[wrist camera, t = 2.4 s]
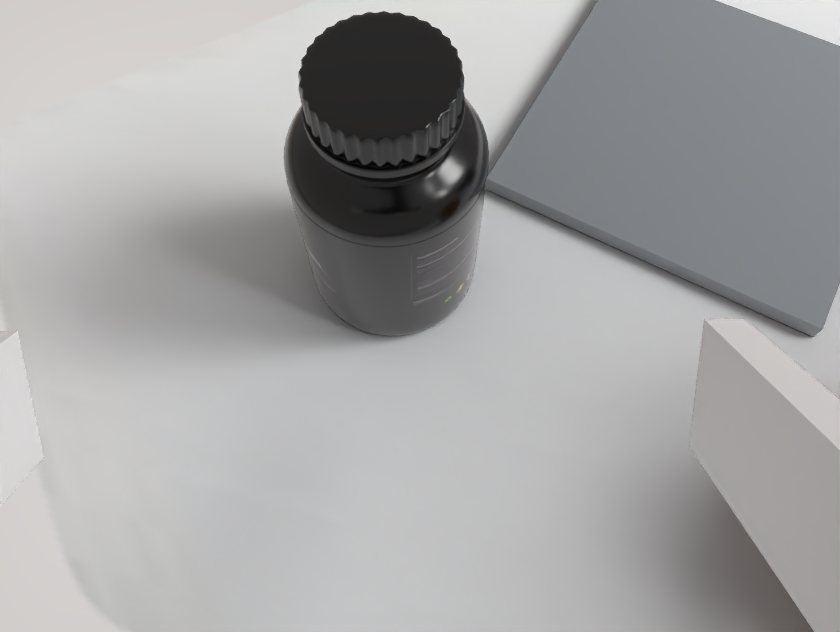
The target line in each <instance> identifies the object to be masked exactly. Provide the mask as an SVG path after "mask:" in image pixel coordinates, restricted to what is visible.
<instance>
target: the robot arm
mask: <svg viewBox="0 0 840 632" xmlns="http://www.w3.org/2000/svg"><path fill="white" fill-rule="evenodd" d="M689 447H690V448H691V450H692V451H693V453H694V454H695V456H696V457H697V459H698V460H699V462H700V463H701V465H702V466H703V468H704V469H705V471H706V472H707V474H708V475H709V477H710V478H711V480H712V481H713V483H714V484H715V485H716V487H717V488H718V490H719V491H720V493H721V494H722V496H723V497H724V499H725V500H726V502H727V503H728V505H729V506H730V508H731V509H732V511H733V512H734V514H735V515H736V517H737V518H738V520H739V521H740V523H741V524H742V525H743V527H744V528H745V530H746V531H747V533H748V534H749V536H750V537H751V539H752V540H753V542H754V543H755V545H756V546H757V548H758V549H759V551H760V552H761V554H762V555H763V557H764V558H765V560H766V561H767V563H768V564H769V565H770V567H771V568H772V570H773V571H774V573H775V574H776V576H777V577H778V579H779V580H780V582H781V583H782V585H783V586H784V588H785V589H786V591H787V592H788V594H789V595H790V597H791V598H792V600H793V601H794V603H795V604H796V606H797V607H798V608H799V610H800V611H801V613H802V614H803V616H804V617H805V619H806V620H807V622H808V623H809V625H810V626H811V628H812V629H813V631H814V632H840V399H839V398H838V397H836V396H835V395H834V394H833V393H832V392H830V391H829V390H828V389H827V388H826V387H825V386H823V385H822V384H821V383H820V382H819V381H817V380H816V379H815V378H814V377H813V376H812V375H810V374H809V373H808V372H807V371H806V370H804V369H803V368H802V367H801V366H800V365H799V364H797V363H796V362H795V361H794V360H793V359H791V358H790V357H789V356H788V355H787V354H786V353H784V352H783V351H782V350H781V349H780V348H778V347H777V346H776V345H775V344H774V343H773V342H771V341H770V340H769V339H768V338H767V337H765V336H764V335H763V334H762V333H761V332H760V331H758V330H757V329H756V328H755V327H754V326H752V325H751V324H750V323H749V322H748V321H747V320H745V319H704V325H703V333H702V341H701V350H700V358H699V367H698V375H697V384H696V392H695V401H694V409H693V418H692V426H691V435H690V443H689ZM43 458H44V454H43V450H42V445H41V440H40V435H39V431H38V426H37V421H36V416H35V411H34V407H33V402H32V397H31V392H30V387H29V383H28V378H27V373H26V368H25V364H24V359H23V354H22V349H21V344H20V340H19V335H18V331H0V506H1V505H2V504H3V503H4V502H5V501H6V500H7V499H8V497H9V496H10V495H11V494H12V493H13V492H14V491H15V489H16V488H17V487H18V486H19V485H20V484H21V483H22V482H23V481H24V479H25V478H26V477H27V476H28V475H29V474H30V472H31V471H32V470H33V469H34V468H35V467H36V466H37V465H38V464H39V463H40V461H41V460H42V459H43Z"/></svg>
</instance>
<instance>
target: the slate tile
mask: <svg viewBox="0 0 840 632" xmlns="http://www.w3.org/2000/svg"><path fill="white" fill-rule="evenodd" d="M485 189H486V190H488V191H491V192H493V193H495V194H497V195H500V196H502V197H504V198H506V199H508V200H511V201H513V202H515V203H517V204H519V205H522V206H524V207H526V208H528V209H531V210H533V211H535V212H537V213H539V214H542V215H544V216H546V217H548V218H550V219H553V220H555V221H557V222H559V223H562V224H564V225H566V226H568V227H570V228H573V229H575V230H577V231H579V232H581V233H584V234H586V235H588V236H590V237H593V238H595V239H597V240H599V241H601V242H604V243H606V244H608V245H610V246H612V247H615V248H617V249H619V250H621V251H624V252H626V253H628V254H630V255H632V256H635V257H637V258H639V259H641V260H643V261H646V262H648V263H650V264H652V265H655V266H657V267H659V268H661V269H663V270H666V271H668V272H670V273H672V274H674V275H677V276H679V277H681V278H683V279H686V280H688V281H690V282H692V283H694V284H697V285H699V286H701V287H703V288H705V289H708V290H710V291H712V292H714V293H717V294H719V295H721V296H723V297H725V298H728V299H730V300H732V301H734V302H736V303H739V304H741V305H743V306H745V307H748V308H750V309H752V310H754V311H756V312H759V313H761V314H763V315H765V316H767V317H770V318H772V319H774V320H776V321H779V322H781V323H783V324H785V325H787V326H790V327H792V328H794V329H796V330H798V331H801V332H803V333H805V334H807V335H810V336H812V337H814V336H815V335H816V334H817V333H819V332H820V331H821V330H822V329H823V326H824V324H825V321H826V318H827V315H828V313H829V310H830V307H831V305H832V302H833V299H834V296H835V294H836V291H837V288H838V286H839V283H840V46H838V45H835V44H832V43H830V42H827V41H824V40H822V39H819V38H816V37H813V36H811V35H808V34H805V33H802V32H800V31H797V30H794V29H792V28H789V27H786V26H783V25H781V24H778V23H775V22H772V21H770V20H767V19H764V18H762V17H759V16H756V15H753V14H751V13H748V12H745V11H742V10H740V9H737V8H734V7H731V6H729V5H726V4H723V3H721V2H718V1H715V0H598V1H597V3H596V4H595V6H594V7H593V9H592V11H591V12H590V14H589V15H588V17H587V19H586V20H585V22H584V23H583V25H582V27H581V28H580V30H579V31H578V33H577V35H576V36H575V38H574V39H573V41H572V43H571V44H570V46H569V47H568V49H567V51H566V52H565V54H564V55H563V57H562V59H561V60H560V62H559V63H558V65H557V67H556V68H555V70H554V71H553V73H552V75H551V76H550V78H549V79H548V81H547V83H546V84H545V86H544V87H543V89H542V91H541V92H540V94H539V95H538V97H537V98H536V100H535V102H534V103H533V105H532V106H531V108H530V110H529V111H528V113H527V114H526V116H525V118H524V119H523V121H522V122H521V124H520V126H519V127H518V129H517V130H516V132H515V134H514V135H513V137H512V138H511V140H510V142H509V143H508V145H507V146H506V148H505V150H504V151H503V153H502V154H501V156H500V158H499V159H498V161H497V162H496V164H495V166H494V167H493V169H492V170H491V172H490V174H489V175H488V177H487V180H486V187H485Z"/></svg>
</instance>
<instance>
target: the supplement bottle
mask: <svg viewBox="0 0 840 632" xmlns="http://www.w3.org/2000/svg"><path fill="white" fill-rule="evenodd" d="M301 65H302V67H301V69H300V71H299V74H298V76H299V82H300V83H299V93H300V98H301V103H302V106H301V107H300V109H299V110H298V112H297V113H296V115H295V117H294V119H293V120H292V123H291V125H290V127H289V130H288V133H287V137H286V141H285V147H284V167H285V172H286V178H287V183H288V186H289V190H290V193H291V197H292V201H293V204H294V208H295V211H296V215H297V218H298V222H299V225H300V229H301V232H302V236H303V240H304V243H305V247H306V250H307V254H308V257H309V261H310V264H311V268H312V271H313V274H314V277H315V280H316V283H317V286H318V289H319V291H320V293H321V295H322V297H323V298H324V300H325V302H326V303H327V304H328V306H329V307H330V308H331V309H332V310H333V311H334V313H336V314H337V315H338V316H339V317H340V318H341V319H343V320H344V321H346V322H347V323H349V324H350V325H352V326H354V327H356V328H358V329H360V330H363V331H366V332H369V333H373V334H378V335H387V336H400V335H408V334H413V333H417V332H420V331H423V330H426V329H428V328H430V327H432V326H434V325H436V324H438V323H439V322H441V321H442V320H444V319H445V318H446V317H447V316H449V315H450V314H451V313H452V312H453V311H454V310H455V309H456V308H457V307H458V305H459V304H460V303H461V301H462V300H463V298H464V297H465V295H466V293H467V291H468V289H469V286H470V284H471V281H472V277H473V272H474V267H475V261H476V254H477V247H478V239H479V232H480V224H481V217H482V210H483V202H484V195H485V187H486V180H487V173H488V156H489V150H488V141H487V137H486V133H485V130H484V127H483V124H482V122H481V120H480V118H479V116H478V114H477V113H476V111H475V109H474V108H473V106H472V105H471V104H470V103H469V101H468V100H467V99H466V98H465V97H464V92H463V89H464V75H463V72H462V61H461V60H460V59H459V57H458V52H457V49H456V48H455V47H453V46H452V45H451V41H450V39H449V38H448V37H446V36H444V35H443V34H442V32H441V31H440V29H438V28H435V27H432V26H431V25H430V24H429V23H428V22H426V21H421V20H419V19H417V18H416V17H414V16H405V15H403V14H401V13H388V12H385V11H383V12H379V13H372V12H368V13H365V14H363V15H353V16H352V17H350V18H348V19H346V20H341V21H338V22H337V23H336V24H335V25H334V26H332V27H328V28H326V30H325V31H324V32H323V34H321V35H319V36H317V37H316V38H315V40H314V43H313V44H312V45H310V46H309V47H308V48H307V54H306V55H305V56H304V57H303V58H302V60H301Z"/></svg>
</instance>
